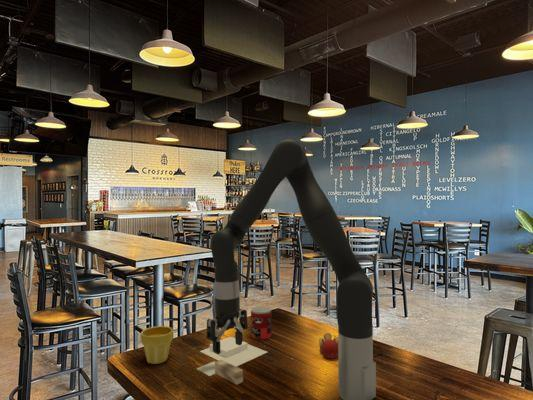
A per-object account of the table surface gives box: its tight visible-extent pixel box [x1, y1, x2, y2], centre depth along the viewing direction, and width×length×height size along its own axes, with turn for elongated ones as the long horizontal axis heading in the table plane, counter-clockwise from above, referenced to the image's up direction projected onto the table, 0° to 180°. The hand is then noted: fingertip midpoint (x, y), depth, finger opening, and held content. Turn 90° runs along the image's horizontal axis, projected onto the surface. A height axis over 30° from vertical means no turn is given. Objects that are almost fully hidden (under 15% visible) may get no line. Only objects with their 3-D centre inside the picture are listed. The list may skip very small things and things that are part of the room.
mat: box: [199, 343, 268, 367], centre depth 128 cm, size 18×16×1 cm
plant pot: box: [140, 325, 174, 365], centre depth 123 cm, size 10×10×10 cm
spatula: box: [196, 360, 244, 386], centre depth 112 cm, size 17×7×4 cm, turn 46°
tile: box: [209, 336, 249, 358], centre depth 129 cm, size 2×10×9 cm
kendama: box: [318, 332, 338, 359], centre depth 130 cm, size 8×6×18 cm
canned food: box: [250, 306, 272, 341], centre depth 142 cm, size 8×8×11 cm
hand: (228, 348), depth 110 cm, fingers open, 8 cm apart
